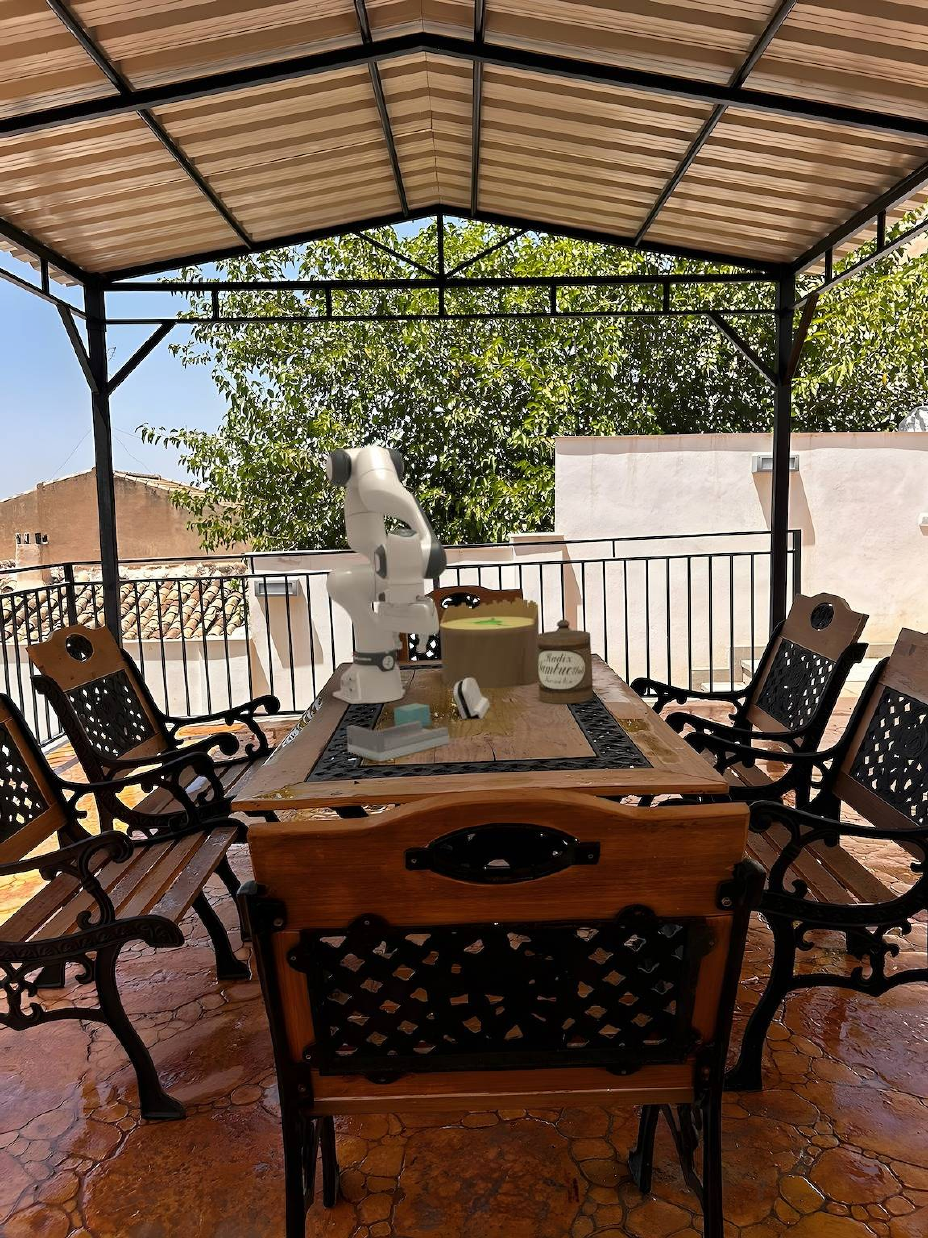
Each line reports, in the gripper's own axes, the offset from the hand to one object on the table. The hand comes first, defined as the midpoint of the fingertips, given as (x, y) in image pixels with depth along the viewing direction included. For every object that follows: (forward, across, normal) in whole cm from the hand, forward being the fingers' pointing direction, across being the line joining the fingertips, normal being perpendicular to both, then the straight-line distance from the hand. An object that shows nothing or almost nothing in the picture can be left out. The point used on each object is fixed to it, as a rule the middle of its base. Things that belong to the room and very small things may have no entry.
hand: (409, 650), depth 223 cm
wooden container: (+19, -9, -47) cm, 52 cm away
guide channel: (+19, -14, +15) cm, 28 cm away
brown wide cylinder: (+19, +30, -55) cm, 66 cm away
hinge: (+19, 0, -20) cm, 28 cm away
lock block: (+19, 0, 0) cm, 19 cm away
